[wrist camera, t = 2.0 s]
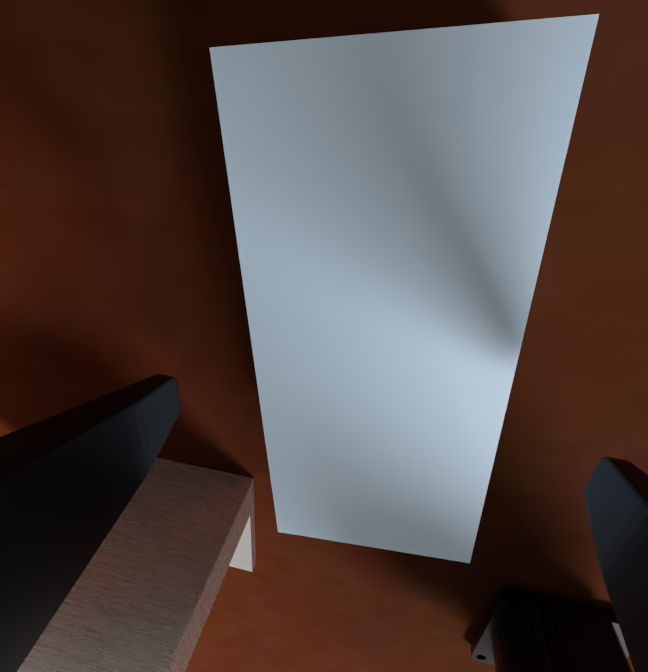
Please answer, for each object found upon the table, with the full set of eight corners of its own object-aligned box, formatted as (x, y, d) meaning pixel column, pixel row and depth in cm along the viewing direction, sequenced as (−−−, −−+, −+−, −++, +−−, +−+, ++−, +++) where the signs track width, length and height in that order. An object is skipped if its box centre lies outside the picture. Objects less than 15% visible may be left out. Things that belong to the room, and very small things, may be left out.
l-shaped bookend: (255, 561, 22) (173, 791, 15) (72, 516, 24) (-90, 701, 16) (253, 478, 19) (144, 720, 11) (39, 431, 21) (-184, 615, 13)
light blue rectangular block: (455, 459, 16) (469, 563, 13) (307, 442, 18) (278, 531, 14) (525, 58, 10) (599, 14, 6) (280, 75, 11) (209, 47, 7)
